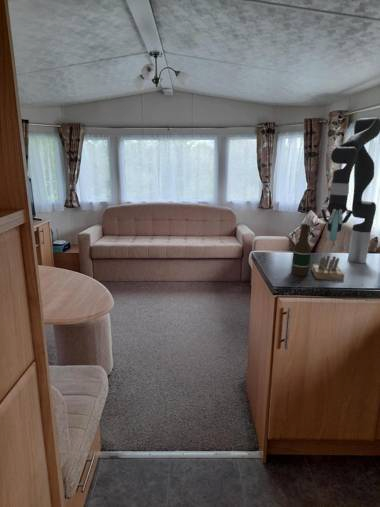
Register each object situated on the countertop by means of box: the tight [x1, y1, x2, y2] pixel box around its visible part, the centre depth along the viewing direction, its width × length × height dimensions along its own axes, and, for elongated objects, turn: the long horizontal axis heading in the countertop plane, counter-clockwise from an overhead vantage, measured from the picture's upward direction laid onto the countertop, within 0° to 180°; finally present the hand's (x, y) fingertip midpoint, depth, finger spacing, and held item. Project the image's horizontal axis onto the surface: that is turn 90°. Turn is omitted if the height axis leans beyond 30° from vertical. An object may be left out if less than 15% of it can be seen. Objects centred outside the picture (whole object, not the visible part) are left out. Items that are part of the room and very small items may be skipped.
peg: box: [328, 210, 339, 242], centre depth 155 cm, size 3×3×14 cm
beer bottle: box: [291, 223, 312, 277], centre depth 160 cm, size 8×8×24 cm
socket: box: [311, 255, 345, 282], centre depth 161 cm, size 14×12×9 cm
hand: (333, 231), depth 156 cm, fingers closed on peg, 3 cm apart
